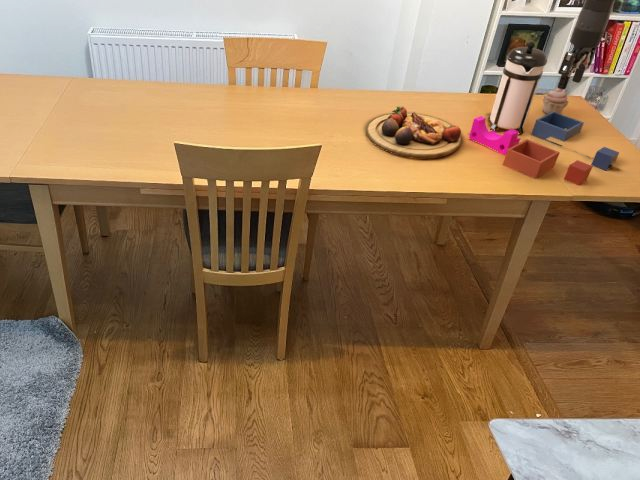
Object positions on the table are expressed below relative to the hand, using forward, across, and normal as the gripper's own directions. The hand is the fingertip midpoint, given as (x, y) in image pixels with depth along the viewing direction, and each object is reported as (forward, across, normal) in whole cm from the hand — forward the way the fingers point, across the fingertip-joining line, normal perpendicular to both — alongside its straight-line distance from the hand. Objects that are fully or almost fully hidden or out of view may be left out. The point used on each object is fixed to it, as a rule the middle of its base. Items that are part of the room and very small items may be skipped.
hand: (568, 85), depth 169 cm
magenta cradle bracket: (+28, +5, +20) cm, 35 cm away
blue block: (+28, +22, -11) cm, 37 cm away
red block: (+28, +6, -10) cm, 31 cm away
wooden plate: (+28, -13, +40) cm, 51 cm away
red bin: (+28, +2, +4) cm, 29 cm away
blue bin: (+28, +30, +10) cm, 42 cm away
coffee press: (+28, +22, +26) cm, 45 cm away
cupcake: (+28, +47, +21) cm, 59 cm away
